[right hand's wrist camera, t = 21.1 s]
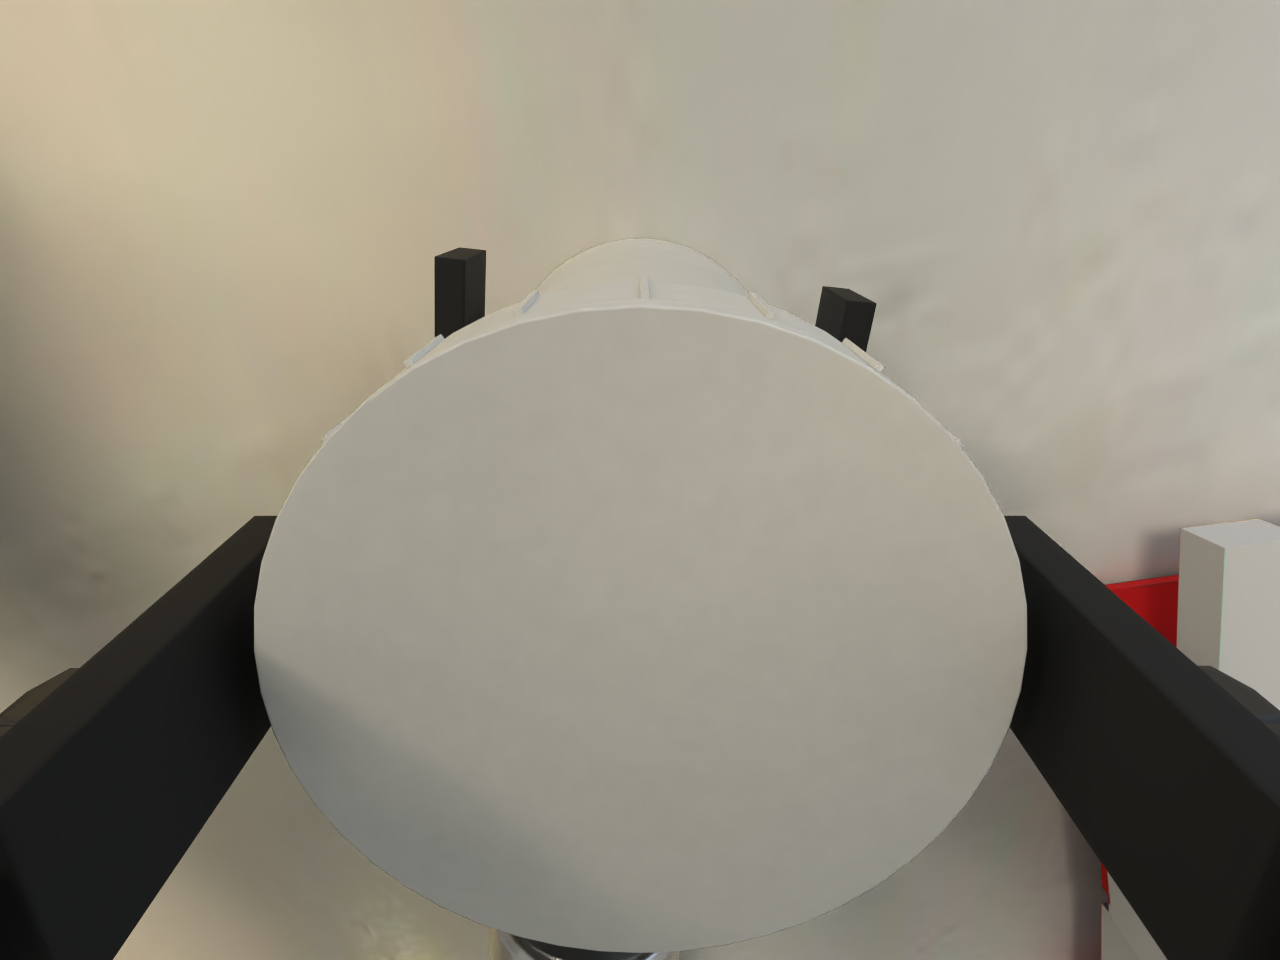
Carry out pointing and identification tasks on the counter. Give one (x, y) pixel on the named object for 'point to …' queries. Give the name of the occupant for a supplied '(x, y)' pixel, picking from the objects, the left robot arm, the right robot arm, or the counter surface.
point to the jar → (640, 267)
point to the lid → (640, 621)
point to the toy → (1206, 649)
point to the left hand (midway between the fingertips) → (656, 274)
